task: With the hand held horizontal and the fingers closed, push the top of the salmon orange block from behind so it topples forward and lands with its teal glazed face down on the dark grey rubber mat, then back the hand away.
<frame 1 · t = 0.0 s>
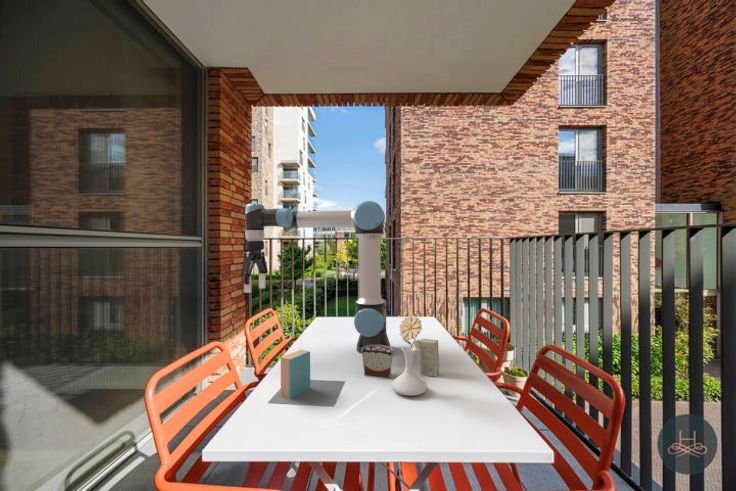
hand: (255, 290, 143), 28 cm above the table, tool pointing down, fingers open, 13 cm apart
flower in vase: (410, 393, 107), on the table
salmon orange block: (296, 392, 106), point 1 cm above the table, touching mat
mat: (309, 393, 107), on the table
skincare box: (429, 374, 122), on the table
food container: (379, 374, 122), on the table
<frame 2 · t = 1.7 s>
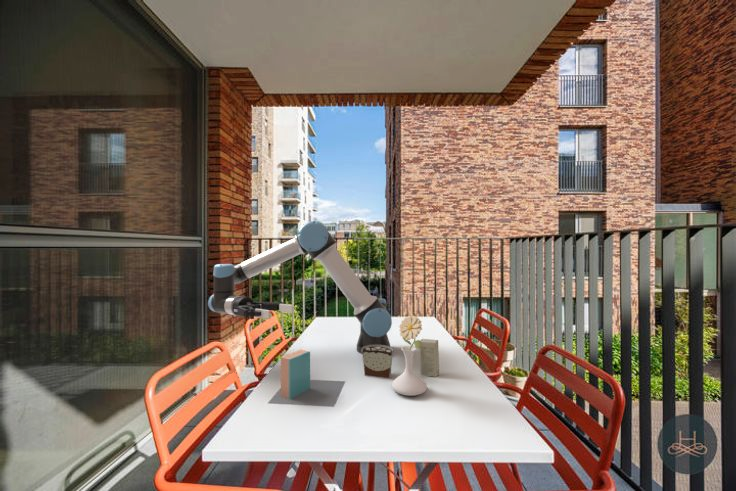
hand: (281, 311, 116), 24 cm above the table, tool horizontal, fingers open, 10 cm apart
nothing on the table moved.
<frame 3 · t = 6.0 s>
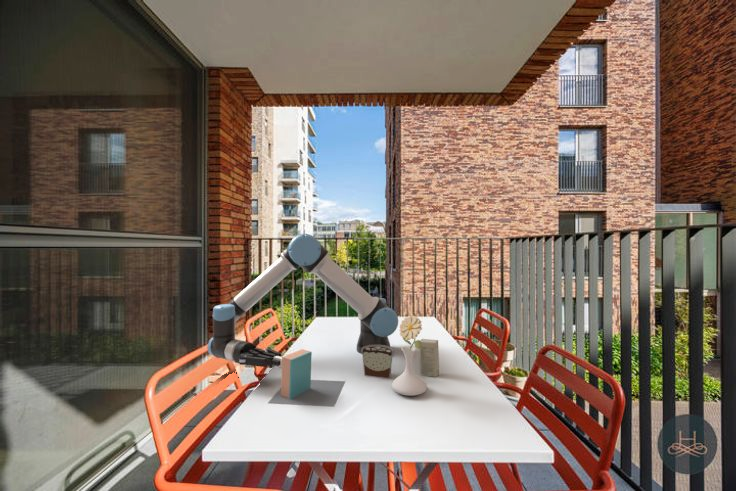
hand: (289, 364, 106), 9 cm above the table, tool horizontal, fingers closed
salmon orange block: (296, 391, 106), point 1 cm above the table, touching gripper, mat
everything else where it was.
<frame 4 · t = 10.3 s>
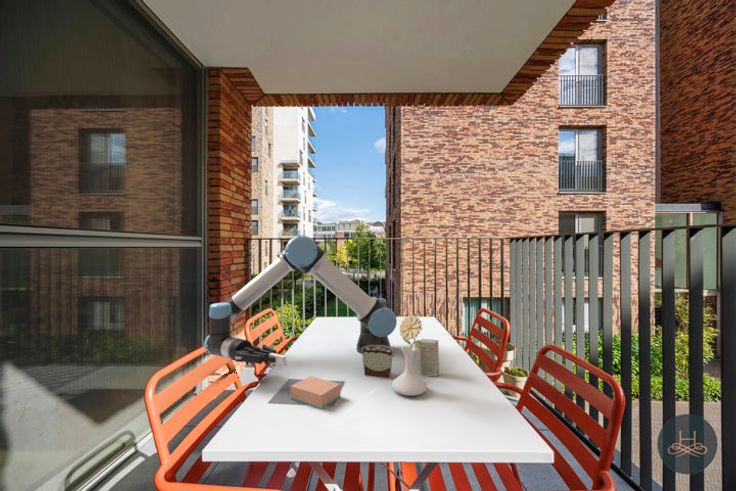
hand: (284, 360, 109), 10 cm above the table, tool horizontal, fingers closed
salmon orange block: (300, 387, 105), point 3 cm above the table, tilted 90°, touching mat
everything else where it was.
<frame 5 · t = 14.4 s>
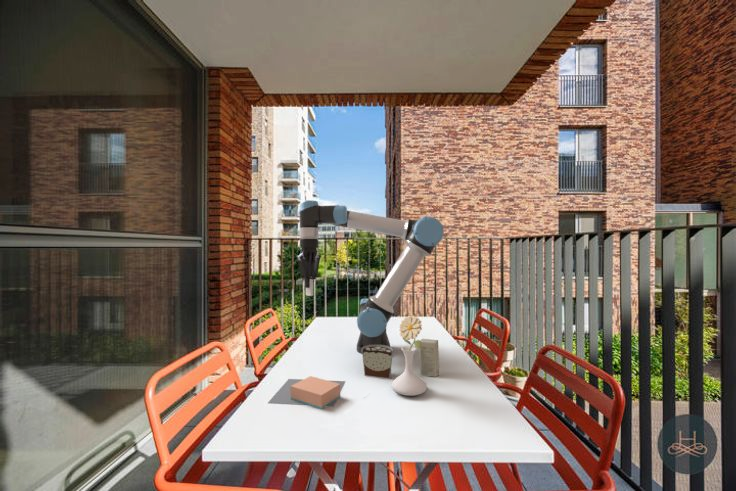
hand: (309, 295, 138), 26 cm above the table, tool pointing down, fingers closed
nothing on the table moved.
at the end: salmon orange block tilted 90°; salmon orange block inside the target area on the mat (2.8 cm from its centre), point 2.6 cm above the mat's base; the gripper is holding nothing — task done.
